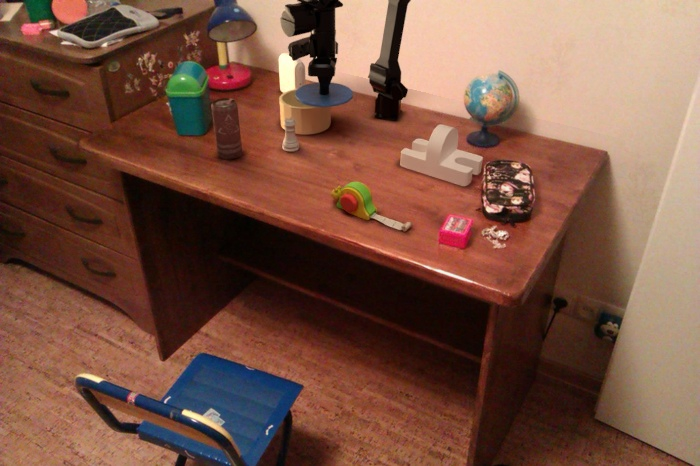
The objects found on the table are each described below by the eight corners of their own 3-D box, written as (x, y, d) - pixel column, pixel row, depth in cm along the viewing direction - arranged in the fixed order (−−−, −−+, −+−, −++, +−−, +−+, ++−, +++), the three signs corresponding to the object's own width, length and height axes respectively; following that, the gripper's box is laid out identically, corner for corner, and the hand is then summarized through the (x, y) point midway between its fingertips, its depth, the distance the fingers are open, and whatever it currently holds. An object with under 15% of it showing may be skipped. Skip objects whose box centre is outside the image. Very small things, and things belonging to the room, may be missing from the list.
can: (247, 151, 153) (242, 99, 145) (233, 162, 148) (227, 109, 140) (227, 146, 155) (221, 94, 147) (212, 157, 150) (205, 104, 142)
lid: (350, 85, 159) (350, 64, 156) (355, 108, 147) (356, 86, 144) (294, 87, 158) (293, 65, 155) (295, 110, 146) (294, 87, 143)
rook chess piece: (302, 146, 155) (301, 117, 151) (295, 153, 152) (294, 124, 147) (286, 143, 157) (284, 114, 152) (279, 151, 153) (277, 122, 148)
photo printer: (308, 99, 180) (306, 58, 173) (295, 102, 178) (293, 61, 171) (290, 88, 187) (288, 48, 179) (278, 91, 185) (275, 51, 177)
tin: (328, 112, 172) (328, 87, 168) (332, 133, 161) (332, 107, 157) (280, 114, 171) (278, 88, 167) (281, 135, 160) (279, 109, 156)
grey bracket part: (465, 187, 140) (471, 145, 133) (398, 165, 148) (400, 125, 141) (482, 170, 146) (488, 129, 140) (416, 150, 154) (420, 111, 148)
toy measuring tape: (341, 195, 136) (341, 169, 132) (416, 224, 127) (418, 197, 123) (324, 208, 132) (323, 182, 128) (400, 238, 123) (402, 211, 119)
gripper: (293, 16, 151) (296, 76, 160) (284, 40, 135) (288, 105, 144) (338, 17, 150) (338, 77, 159) (334, 41, 135) (334, 106, 144)
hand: (324, 91), depth 152 cm, fingers closed on lid, 3 cm apart
